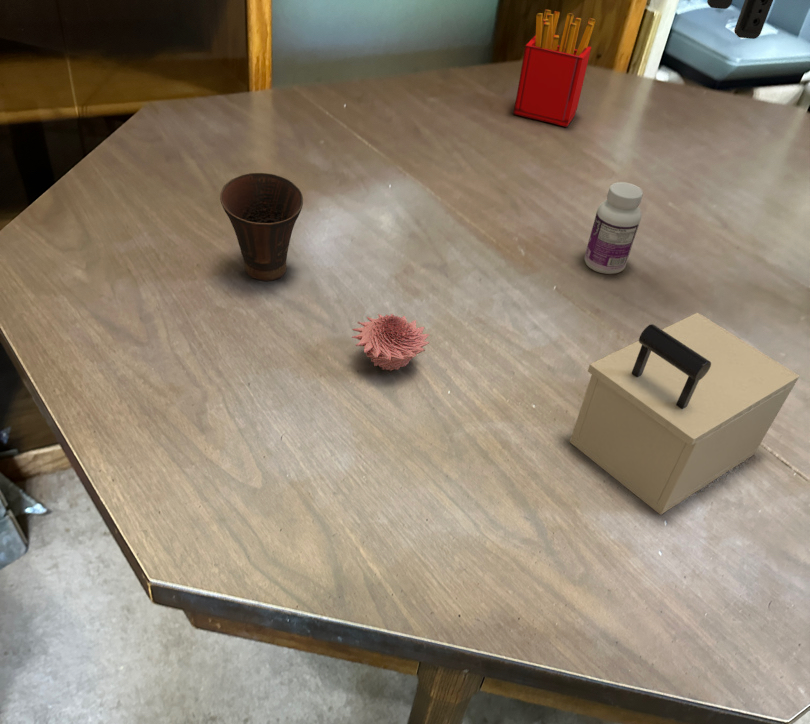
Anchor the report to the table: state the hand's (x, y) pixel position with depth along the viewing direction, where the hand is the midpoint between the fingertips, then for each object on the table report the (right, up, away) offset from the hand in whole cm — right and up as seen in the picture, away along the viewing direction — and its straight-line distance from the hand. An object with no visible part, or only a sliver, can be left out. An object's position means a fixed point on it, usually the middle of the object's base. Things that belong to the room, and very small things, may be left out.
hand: (730, 21), depth 72 cm
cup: (-47, -18, +18) cm, 53 cm away
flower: (-32, -30, +9) cm, 45 cm away
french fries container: (-7, +22, +56) cm, 61 cm away
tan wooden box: (-5, -39, +4) cm, 40 cm away
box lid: (-5, -34, -3) cm, 34 cm away
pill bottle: (-5, -14, +26) cm, 30 cm away
